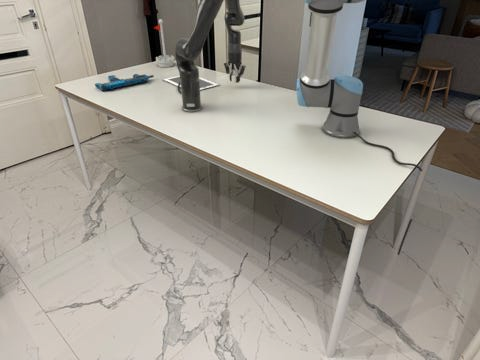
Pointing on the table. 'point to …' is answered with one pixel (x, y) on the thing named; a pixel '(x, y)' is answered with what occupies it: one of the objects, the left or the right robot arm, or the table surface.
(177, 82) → the tablet
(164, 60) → the flag stand
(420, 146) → the table surface
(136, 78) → the submachine gun
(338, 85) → the right robot arm
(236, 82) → the can
